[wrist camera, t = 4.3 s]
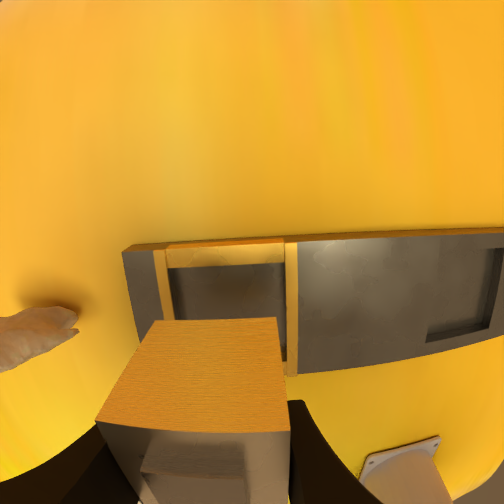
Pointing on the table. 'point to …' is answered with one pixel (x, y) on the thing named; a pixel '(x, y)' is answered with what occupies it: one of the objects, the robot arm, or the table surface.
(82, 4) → the table surface
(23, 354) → the arrowhead
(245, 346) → the wood-topped square block
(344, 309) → the grey slotted panel
